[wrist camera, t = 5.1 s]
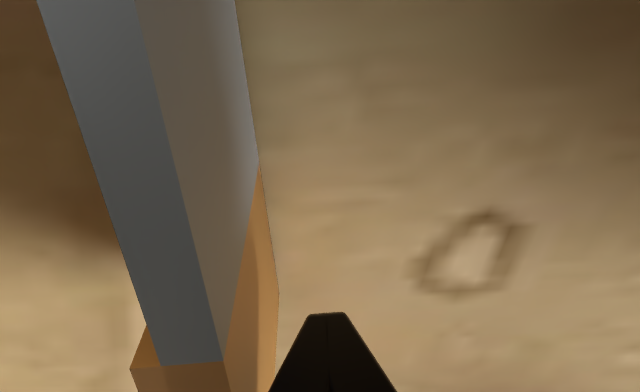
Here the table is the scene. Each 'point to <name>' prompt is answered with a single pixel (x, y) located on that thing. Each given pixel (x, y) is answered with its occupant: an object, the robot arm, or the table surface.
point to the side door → (177, 182)
